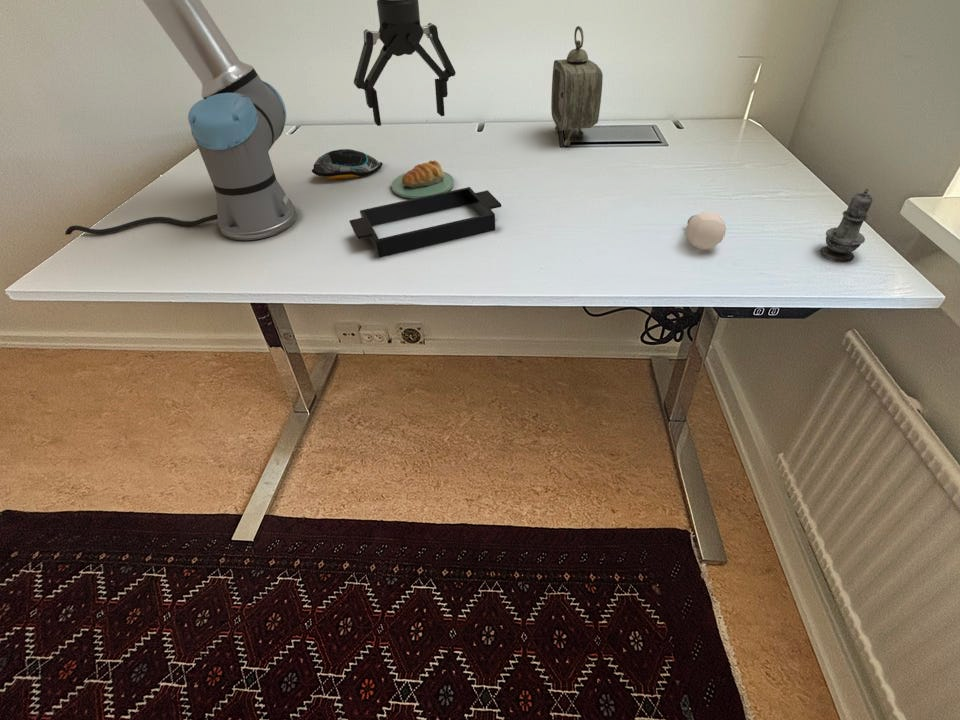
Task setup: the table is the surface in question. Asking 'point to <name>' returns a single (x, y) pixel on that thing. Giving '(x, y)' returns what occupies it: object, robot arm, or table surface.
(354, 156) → the black domed oval piece
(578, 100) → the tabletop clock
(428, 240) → the pan
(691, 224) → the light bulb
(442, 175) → the pastry
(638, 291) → the table surface
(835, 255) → the grey chess piece
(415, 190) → the plate
